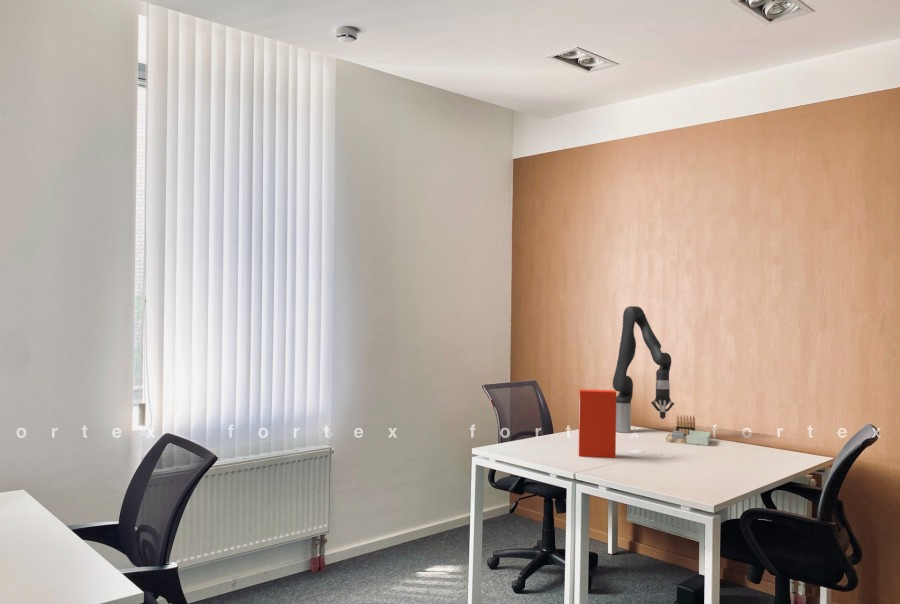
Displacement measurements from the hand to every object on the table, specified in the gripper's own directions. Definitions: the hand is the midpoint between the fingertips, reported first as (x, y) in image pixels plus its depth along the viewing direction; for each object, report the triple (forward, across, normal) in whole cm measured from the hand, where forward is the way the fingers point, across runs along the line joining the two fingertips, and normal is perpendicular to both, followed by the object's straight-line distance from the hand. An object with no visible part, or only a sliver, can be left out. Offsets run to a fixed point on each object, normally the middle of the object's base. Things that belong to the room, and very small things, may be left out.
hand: (662, 418), depth 376 cm
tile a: (+9, +9, 0) cm, 13 cm away
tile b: (+9, +9, -7) cm, 14 cm away
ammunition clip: (+12, +11, +17) cm, 23 cm away
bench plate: (+11, +8, -3) cm, 14 cm away
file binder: (+12, -23, -65) cm, 70 cm away
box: (+11, +19, -3) cm, 22 cm away
